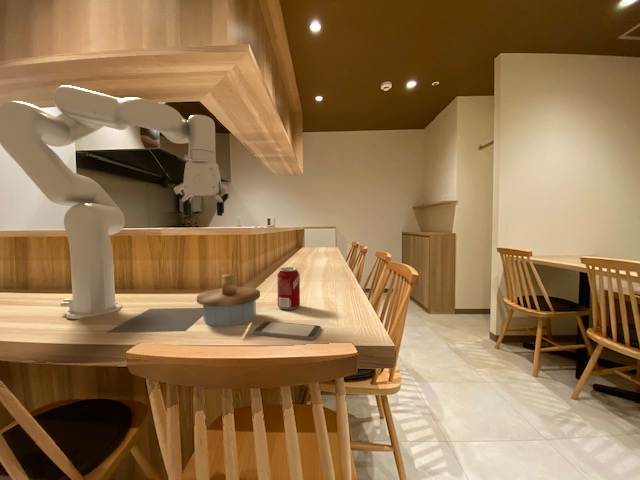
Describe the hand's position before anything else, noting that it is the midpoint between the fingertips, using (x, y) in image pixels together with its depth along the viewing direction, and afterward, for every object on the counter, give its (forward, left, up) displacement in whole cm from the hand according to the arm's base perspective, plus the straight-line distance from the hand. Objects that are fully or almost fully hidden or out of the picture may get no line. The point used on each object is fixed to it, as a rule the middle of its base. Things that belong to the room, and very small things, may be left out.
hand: (204, 215), depth 85 cm
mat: (-6, -13, -28) cm, 32 cm away
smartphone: (+27, -22, -29) cm, 45 cm away
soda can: (+26, -3, -28) cm, 39 cm away
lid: (+11, -13, -22) cm, 28 cm away
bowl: (+11, -13, -28) cm, 33 cm away
